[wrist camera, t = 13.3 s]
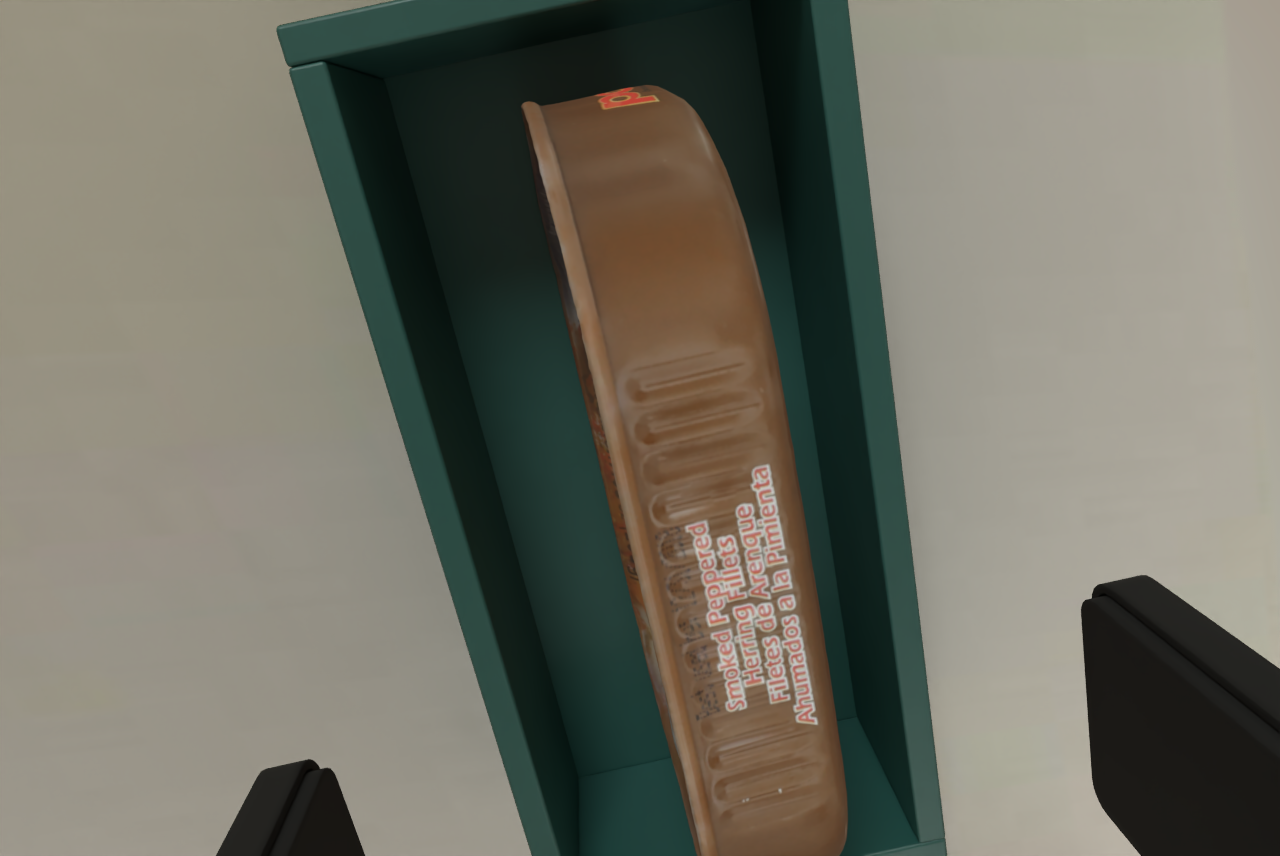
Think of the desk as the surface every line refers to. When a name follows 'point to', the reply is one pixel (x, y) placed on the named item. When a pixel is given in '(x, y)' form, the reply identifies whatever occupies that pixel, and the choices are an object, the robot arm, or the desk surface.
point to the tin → (695, 464)
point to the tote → (551, 392)
